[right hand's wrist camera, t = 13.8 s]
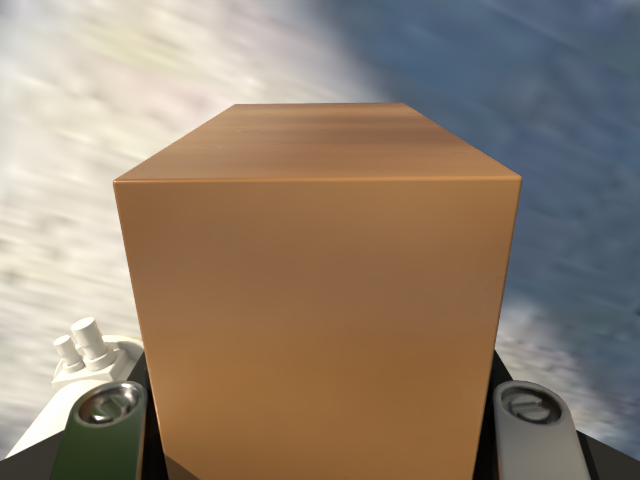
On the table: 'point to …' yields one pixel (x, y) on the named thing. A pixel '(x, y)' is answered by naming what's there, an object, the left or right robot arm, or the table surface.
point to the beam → (319, 292)
